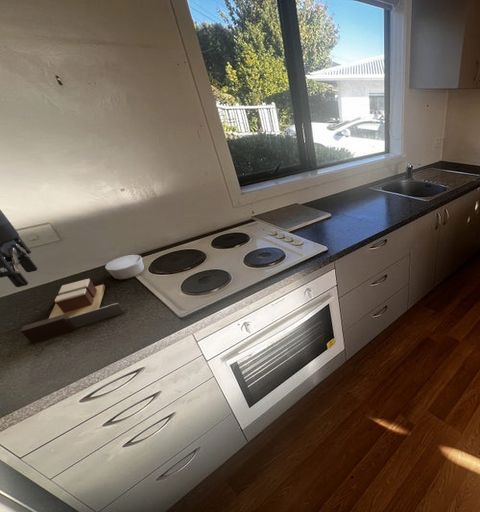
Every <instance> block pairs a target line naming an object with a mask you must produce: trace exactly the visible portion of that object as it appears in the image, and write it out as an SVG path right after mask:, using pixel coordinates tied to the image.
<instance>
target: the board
mask: <svg viewBox="0 0 480 512" xmlns="http://www.w3.org/2000/svg"><path fill="white" fill-rule="evenodd" d="M95 288H96V289H97V291H96V294H95V297H94V298H93V300H94V301H93V304H92V305H90V306H87V307H83V308H80V309H76V310H73V311H70V312H66V313H63V311H62V310H61V309H60V308H59V306H58V305H57V304H56V303H55V304H54V306H53V308H52V310H51V312H50V314H49V317H48V319H49V318H53V317H56V316H59V315H63V314H67V316H68V317H72V316H76V315H79V314H82V313H86V312H89V311H92V310H96V309H99V308H101V303H102V300H103V298H104V297H103V296H104V292H105V290H106V286H105V285H104V284H99V285H96V286H95Z"/></svg>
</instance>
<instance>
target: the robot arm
mask: <svg viewBox="0 0 480 512" xmlns="http://www.w3.org/2000/svg"><path fill="white" fill-rule="evenodd" d="M30 254H32V251H31V249H30V248H29V246H27V244H26V243H25V242H24V241H23V240H22V238H21V236H20V234H19V232H18V231H17V229H16V228H15V227H14V225H13V224H12V223H11V221H10V220H9V219H8V217H7V216H6V215H5V214H4V212H3V210H1V209H0V279H1V278H5V277H7V279H8V280H9V281H10V282H11V283H12V284H13V286H14V287H15V288H21V287H26V286H28V284H29V282H28V280H27V279H26V278H25V276H24V275H23V273H22V272H20V270H19V267H18V266H19V265H20V266H21V267H22V269H23V270H24V271H25V272H26V273H31V272H36V271H37V270H38V266H37V265H36V264H35V263H34V261H33V260H32V259H31V255H30Z"/></svg>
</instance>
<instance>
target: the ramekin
mask: <svg viewBox="0 0 480 512" xmlns="http://www.w3.org/2000/svg"><path fill="white" fill-rule="evenodd" d="M104 268H105V270H106V271H107V272H108V273H109V274H110V275H111V277H113V278H114V279H117V280H127V279H131V278H134V277H137V276H139V275H140V274H141V273H142V272H143V271H144V269H145V266H144V262H143V258H142V256H141V255H140V254H129V255H123V256H120V257H117V258H114V259H112V260H111V261H109V262H108V263H106V264H105V266H104Z"/></svg>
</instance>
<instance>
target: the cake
mask: <svg viewBox="0 0 480 512" xmlns="http://www.w3.org/2000/svg"><path fill="white" fill-rule="evenodd" d="M95 287H96V286H95V285H94V283H93V282H92V280H91V279H90V278H85V279H81V280H78V281H75V282H70V283H67V284H63V285H61V287H60V289H59V291H58V296H59V295H62V294H66V293H70V292H74V291H77V290H81V289H85V288H86V289H87V291H88V292H89V294H90V295H91V297H92V298H94V297H95V294H96V291H97V289H96V288H95Z"/></svg>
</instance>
